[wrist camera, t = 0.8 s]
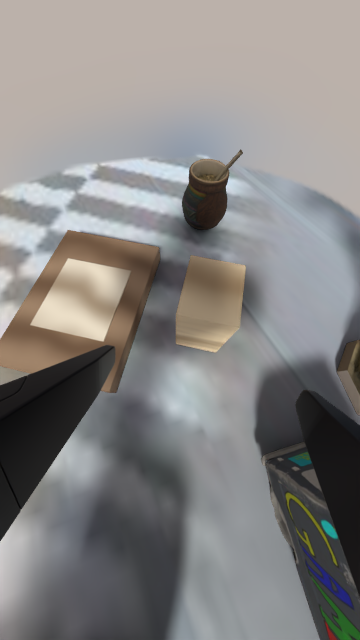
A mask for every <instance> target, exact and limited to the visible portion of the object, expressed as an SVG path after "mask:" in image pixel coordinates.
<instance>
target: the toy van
mask: <svg viewBox="0 0 360 640" xmlns="http://www.w3.org/2000/svg"><path fill="white" fill-rule="evenodd" d="M268 459H269V460H268ZM265 460H268V462H267V464H266V463H265ZM261 461H262V464H263V465H264V466H266V468H267V473H268V478H269V481H270V485H271V487H270V496H271V501H272V504H273V507H274V510H275V517H276V520H277V522H278V524H279V527H280V529H281V532H282V534H283V536H284V538H285V539H286V541H287V542H288V543H289V545H290V546H291V547H293V548H294V551H295V552H293V553H294V558H295V562H296V566H297V570H298V573H299V576H300V579H301V582H302V586H303V589H304V592H305V595H306V598H307V601H308V604H309V607H310V610H311V614H312V617H313V620H314V622H315V625H316V628H317V631H318V634H319V637H320V640H360V597H359V595H358V592H357V589H356V586H355V583H354V581H353V578H352V575H351V572H350V569H349V566H348V564H347V561H346V558H345V555H344V552H343V550H342V547H341V544H340V541H339V538H338V535H337V533H336V530H335V527H334V524H333V521H332V519H331V516H330V513H329V510H328V507H327V504H326V502H325V499H324V496H323V493H322V490H321V488H320V485H319V482H318V479H317V476H316V473H315V471H314V468H313V465H312V462H311V459H310V457H309V454H308V451H307V448H306V445H305V442H301V443H298V444H295V445H292V446H289V447H286V448H283V449H280V450H277V451H274V452H271V453H268V454H266V455H264V456H262V458H261Z"/></svg>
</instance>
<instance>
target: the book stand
mask: <svg viewBox="0 0 360 640" xmlns="http://www.w3.org/2000/svg"><path fill="white" fill-rule="evenodd" d="M337 373H338V375H339V378H340V380H341V382H342V384H343V386H344V388H345V390H346V392H347V394H348V396H349V398H350V401H351V403H352V405H353V407H354V409H355V411H356V413H357V414H358V415H359V416H360V340H356V341H353V342H350V343H347V344H346V347H345V350H344V353H343V356H342V359H341V361H340V364H339V367H338V370H337Z"/></svg>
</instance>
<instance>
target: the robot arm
mask: <svg viewBox="0 0 360 640" xmlns="http://www.w3.org/2000/svg"><path fill="white" fill-rule="evenodd" d="M114 364H115V347H114V346H111V345H104V346H102V347H99V348H97V349H94V350H91V351H89V352H86V353H84V354H81V355H78V356H76V357H73V358H71V359H68V360H66V361H63V362H60V363H58V364H55V365H53V366H50V367H47V368H45V369H42V370H40V371H37V372H34V373H32V374H29V375H28V376H24V377H21V378H19V379H16V380H14V381H11V382H8V383H5V384H3V385H0V541H1V540H2V538H3V537H4V535H5V534H6V532H7V531H8V529H9V528H10V526H11V525H12V523H13V522H14V520H15V519H16V517H17V516H18V514H19V513H20V511H21V510H20V509H22V508H23V506H24V505H25V503H26V502H27V500H28V499H29V497H30V496H31V494H32V493H33V491H34V490H35V488H36V487H37V485H38V484H39V482H40V481H41V479H42V478H43V476H44V475H45V473H46V472H47V470H48V469H49V467H50V466H51V464H52V463H53V461H54V460H55V458H56V457H57V455H58V454H59V452H60V451H61V449H62V448H63V446H64V445H65V443H66V442H67V440H68V439H69V437H70V436H71V434H72V433H73V431H74V430H75V428H76V427H77V425H78V424H79V422H80V421H81V419H82V418H83V416H84V415H85V414H86V412H87V411H88V409H89V408H90V406H91V405H92V403H93V402H94V400H95V399H96V397H97V395H98V394H99V392H100V391H101V389H102V387H103V385H104V383H105V381H106V379H107V377H108V375H109V374H110V372H111V370H112V368H113V366H114ZM295 406H296V411H297V415H298V419H299V423H300V427H301V431H302V435H303V438H304V442H305V445H306V448H307V451H308V454H309V457H310V459H311V462H312V465H313V468H314V471H315V473H316V476H317V479H318V482H319V485H320V488H321V490H322V493H323V496H324V499H325V502H326V504H327V507H328V510H329V513H330V516H331V519H332V521H333V524H334V527H335V530H336V533H337V535H338V538H339V541H340V544H341V547H342V550H343V552H344V555H345V558H346V561H347V564H348V566H349V569H350V572H351V575H352V578H353V581H354V583H355V586H356V589H357V592H358V595H359V597H360V425H359V424H357V423H356V422H355V421H353V420H352V419H351V418H349V417H348V416H347V415H345V414H344V413H343V412H341V411H340V410H339V409H337V408H336V407H335V406H333V405H332V404H331V403H329V402H328V401H327V400H325V399H324V398H323V397H321V396H320V395H319V394H317V393H316V392H314V391H311V390H303V391H302V393H301V394H300V396H299V398H298V399H297V401H296V404H295Z"/></svg>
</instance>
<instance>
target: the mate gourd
mask: <svg viewBox="0 0 360 640" xmlns="http://www.w3.org/2000/svg"><path fill="white" fill-rule="evenodd" d="M242 154H243V152H242V150H240V151H239V152H238V154H237V155H236V156H235V157H234V158H233V159H232V160H231V161H230V162H229V164H227V165H226V166H225V165H224V164H223V163H221V162H220V161H217V160H213V159H202V160H199V161H197V162H195V163H193V164H192V165H191V167H190V169H189V184H188V186H187V188H186V191H185V192H184V196H183V200H182V207H183V213H184V217H185V219H186V221H187V222H188V223H189V224H190V225H191V226H192V227H194V228H196V229H200V230H207V229H211V228H213V227H215V226H217V225H218V223H219V222H220V220H221V219H222V218H223V216H224V215H225V212H226V208H227V194H226V185H227V182H228V178H229V170H228V169H229V168H230V167H231V166H232V165H233V163H234V162H235V161H236V160H237V159H238V158H239V157H240V155H242Z"/></svg>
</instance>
